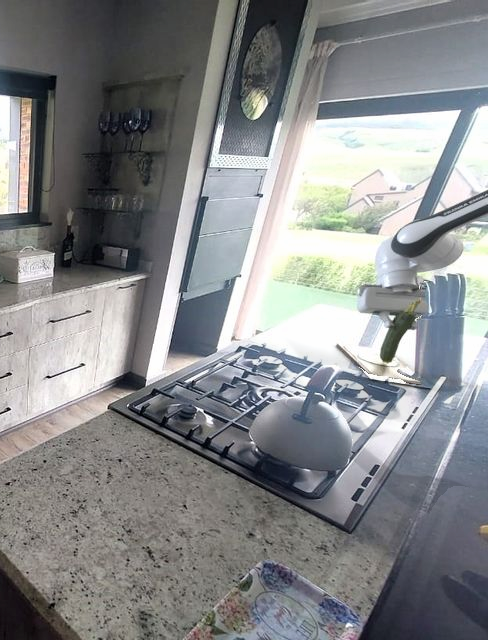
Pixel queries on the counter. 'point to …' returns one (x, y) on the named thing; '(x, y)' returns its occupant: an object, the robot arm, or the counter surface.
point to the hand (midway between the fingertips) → (401, 328)
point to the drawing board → (375, 362)
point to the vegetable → (397, 332)
